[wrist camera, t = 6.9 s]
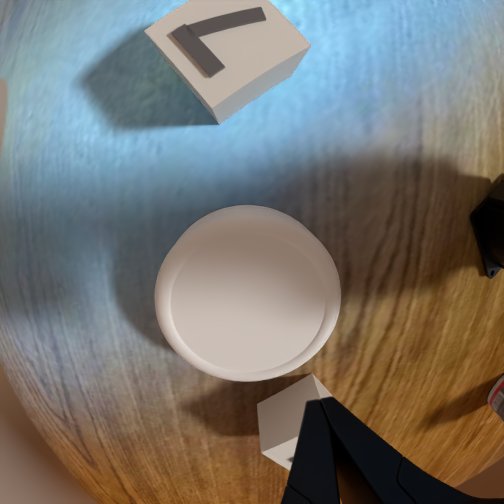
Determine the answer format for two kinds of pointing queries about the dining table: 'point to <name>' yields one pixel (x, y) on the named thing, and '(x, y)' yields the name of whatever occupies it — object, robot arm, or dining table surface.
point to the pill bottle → (497, 398)
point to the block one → (286, 418)
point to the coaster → (247, 294)
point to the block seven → (229, 50)
